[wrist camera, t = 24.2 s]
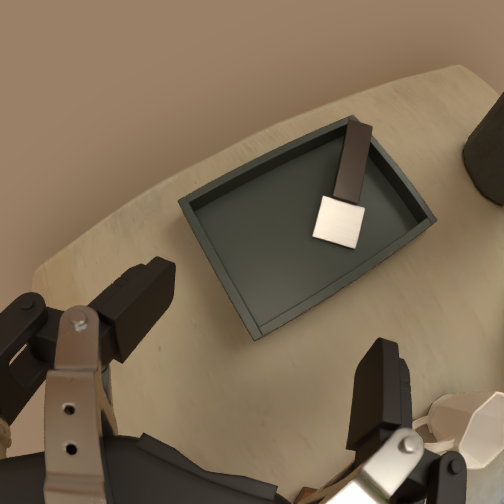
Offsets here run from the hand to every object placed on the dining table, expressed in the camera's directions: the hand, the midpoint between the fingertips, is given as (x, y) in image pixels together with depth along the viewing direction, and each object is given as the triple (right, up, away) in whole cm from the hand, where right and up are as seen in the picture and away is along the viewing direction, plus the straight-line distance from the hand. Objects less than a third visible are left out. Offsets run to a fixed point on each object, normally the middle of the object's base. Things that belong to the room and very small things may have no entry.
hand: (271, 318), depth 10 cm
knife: (+6, +3, +14) cm, 16 cm away
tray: (+5, +5, +16) cm, 18 cm away
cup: (+16, -13, +10) cm, 24 cm away
